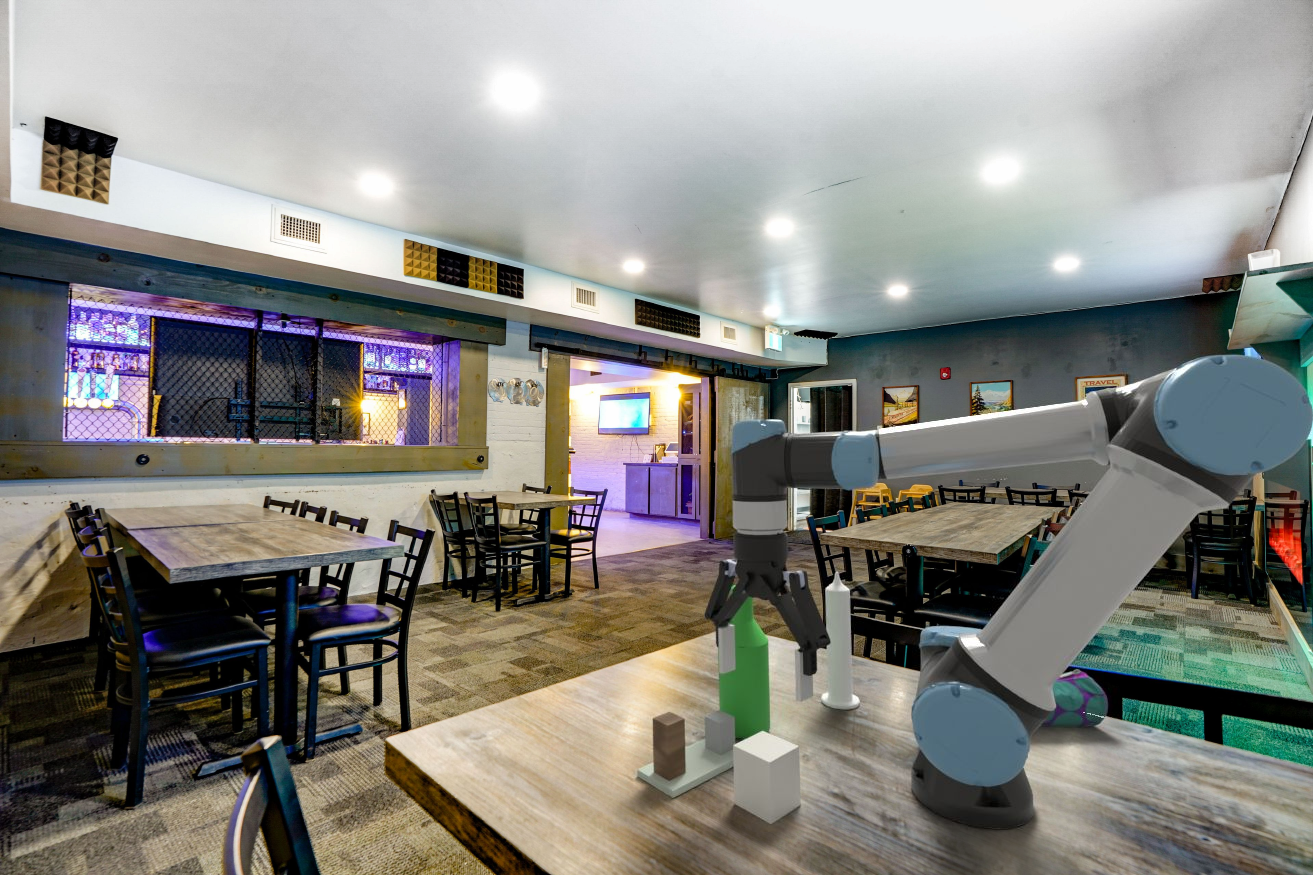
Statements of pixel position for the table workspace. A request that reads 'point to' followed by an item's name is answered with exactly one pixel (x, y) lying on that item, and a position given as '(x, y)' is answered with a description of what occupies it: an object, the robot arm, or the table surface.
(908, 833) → the table surface
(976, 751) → the robot arm
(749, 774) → the white square column
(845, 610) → the candle
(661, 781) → the rack
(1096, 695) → the pencil case
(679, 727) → the tall post
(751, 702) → the bottle
